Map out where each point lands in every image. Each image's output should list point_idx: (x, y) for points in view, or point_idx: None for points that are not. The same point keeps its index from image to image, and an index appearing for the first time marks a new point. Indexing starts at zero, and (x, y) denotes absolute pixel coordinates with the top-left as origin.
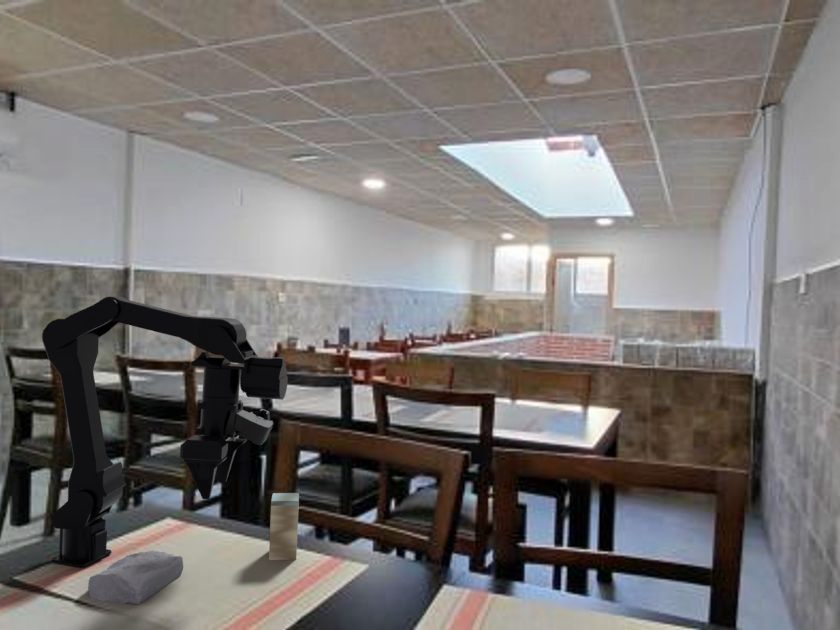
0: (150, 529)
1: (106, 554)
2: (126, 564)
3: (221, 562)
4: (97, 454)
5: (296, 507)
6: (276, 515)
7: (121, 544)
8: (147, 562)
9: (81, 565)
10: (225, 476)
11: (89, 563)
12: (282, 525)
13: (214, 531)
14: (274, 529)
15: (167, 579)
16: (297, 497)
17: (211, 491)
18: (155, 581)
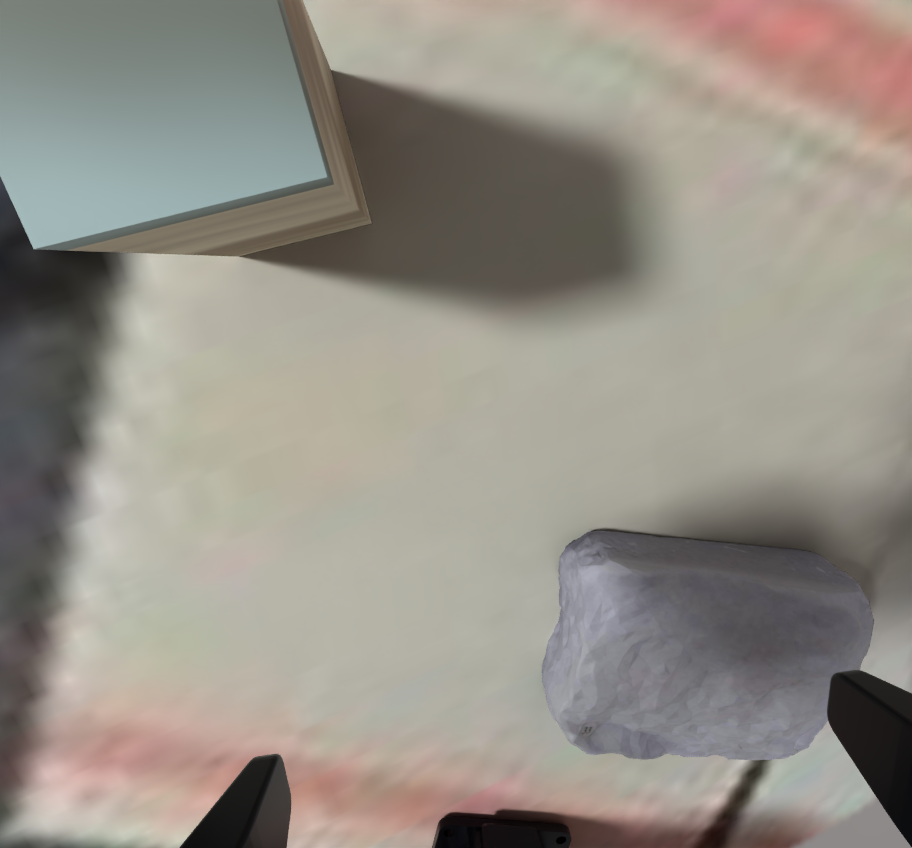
0: (173, 824)
1: (471, 822)
2: (699, 714)
3: (441, 433)
4: None
5: None
6: (330, 142)
7: (350, 830)
8: (691, 658)
9: (569, 834)
10: (265, 821)
11: (544, 825)
12: (327, 106)
13: (95, 602)
14: (348, 175)
15: (690, 546)
16: None
17: (906, 713)
18: (773, 565)
